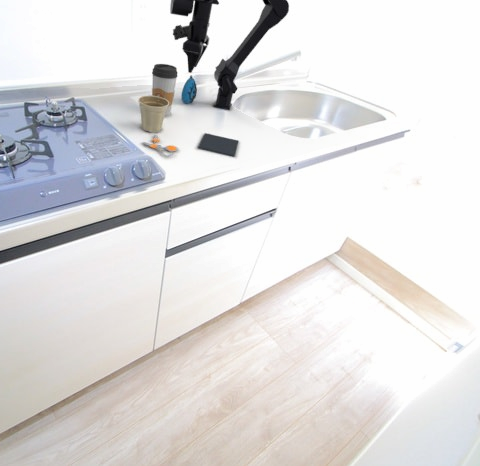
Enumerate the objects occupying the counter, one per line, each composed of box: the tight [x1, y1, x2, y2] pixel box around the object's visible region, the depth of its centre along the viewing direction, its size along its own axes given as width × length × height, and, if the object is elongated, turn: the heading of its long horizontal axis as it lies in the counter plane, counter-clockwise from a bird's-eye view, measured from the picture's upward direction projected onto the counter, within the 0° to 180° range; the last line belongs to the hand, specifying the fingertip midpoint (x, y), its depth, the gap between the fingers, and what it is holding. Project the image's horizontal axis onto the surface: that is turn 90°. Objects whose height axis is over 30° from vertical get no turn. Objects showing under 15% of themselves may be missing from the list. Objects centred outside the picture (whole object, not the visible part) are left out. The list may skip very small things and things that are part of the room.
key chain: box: [142, 134, 178, 157], centre depth 95 cm, size 13×7×1 cm, turn 39°
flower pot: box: [137, 95, 169, 133], centre depth 101 cm, size 9×9×9 cm
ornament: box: [180, 74, 198, 104], centre depth 123 cm, size 8×5×10 cm, turn 150°
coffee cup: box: [151, 63, 178, 118], centre depth 110 cm, size 8×8×15 cm
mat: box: [197, 132, 239, 157], centre depth 100 cm, size 11×11×1 cm
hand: (192, 69), depth 118 cm, fingers open, 9 cm apart
